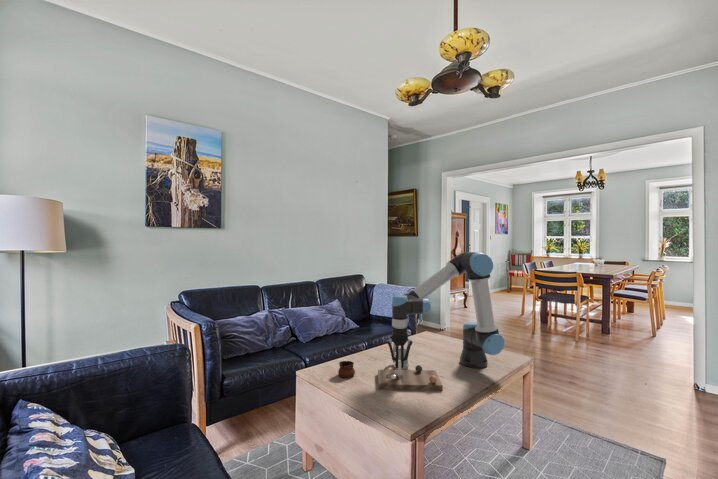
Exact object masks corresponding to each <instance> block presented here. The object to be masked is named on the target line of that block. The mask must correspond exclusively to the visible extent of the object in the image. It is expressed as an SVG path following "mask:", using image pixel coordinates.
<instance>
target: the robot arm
mask: <svg viewBox="0 0 718 479" xmlns="http://www.w3.org/2000/svg"><path fill="white" fill-rule="evenodd" d="M493 270H494V262H493V260H492V258H491V257H490V256H489V255H488V254H486V253H484V252H479V251H476V252H475V251H464V252H461V253H459V254H457V255H456V256H454V257H453V258H452V259H450V260H449V261H447V262H446V265H445V266H444V267H442V268H441V269H440V270H438V271H437V272H436V273H434V274H432V275H431V276H430V277H429V278H428V279H426V280H425V281H423V282H421V284H419V285H417V286H416V287H415V288H413V289H412V290H410V291H409V292H408V293H403V294H396V295H394V296H393V297H392V301H391V310H392V311H391V326H392V327H391V337H390V339H386V344H387V345H388V347H389V351H390V356H391V361H393V360H395V361H396V368H398V369H397V370H398V375H401V368H403V367H404V361H405V360H407V359H408V360H409V353H410V350H411V346H412V344H413V341H412V339H409V337H408V315H424V314H429V313H430V311H431V308H432V306H431V302H430V300H429V298H427V297H429V296H430V295H432V294H433V293H434V292H436V291H438V290H439V289H440V288H441V287H442V286H444V285H445V284H447V283H448V282H450V281H451V280H452V279H454V278H455V277H457V278H458V277H459V276H462V275H463V274H466V277H467V278H466V280H468V281H469V282H470V284H471V291H472V297H473V304H474V311H475V318H476V319H475V320H476V322H475V321H474V322H465V323H463V325H462V350H461V353H460V356H459V363H460V364H461V365H463V366H464V367H467V366H468V368H472V369H473V368H474V369H483V368H486V367H487V366H488V365H489V364H488V363H489V362H488V357H487V356H486V355H489V356H496V355H497V356H498V355H499V354H500V353H502V350H503V349H504V348H505V341H506V340H505V338H504V337H503V336H502V334H500V332H499V327H498V325H497V324H496V323H495V319H494V313H493V312H494V311H493V306H492V305H493V304H492V299H491V293H490V292H491V291H490V285H489V279H490V278H491V273H492V272H493ZM392 344H393V345H394V344H395V345H396V352H395V355H396V357H394V354H393V346H392ZM406 344H407V345H406ZM405 345H406V348H405V347H404V346H405ZM399 347H400V348H401V360H398V349H399ZM404 349H406V353H405V357H404ZM482 367H483V368H482ZM396 368H395V369H396Z"/></svg>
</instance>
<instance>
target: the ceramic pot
mask: <svg viewBox="0 0 718 479" xmlns="http://www.w3.org/2000/svg"><path fill="white" fill-rule="evenodd" d="M338 365H339V369H338V372H337V374H338V376H340V377H339V378H340V379H345V378H349V379H352V378H354V377H355V376H354V375H355V374H356V370H355V368H354V365H355V363H354V361H351V360H342V361H339V363H338Z"/></svg>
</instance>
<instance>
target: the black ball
mask: <svg viewBox="0 0 718 479" xmlns="http://www.w3.org/2000/svg"><path fill="white" fill-rule="evenodd" d="M414 370H416V371H417V372H421V371H422V370H423V367H422V366H421V365H420V364H418V365H416V366H415V368H414Z"/></svg>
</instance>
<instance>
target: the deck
mask: <svg viewBox="0 0 718 479" xmlns="http://www.w3.org/2000/svg"><path fill="white" fill-rule="evenodd" d="M391 375H396V377H397V379H393V378H390V376H391ZM432 375H434V376H436V378H437V381H436V383H431V382H430V380H429V378H430V376H432ZM377 380H378V391H379V390H382V391H385V390H386V391H388V390H389V391H394V390H395V391H440V392H441V391H443V389H444V388H443V387H444V386H443V382H442V381H441V379H440V377H439V375H438V373H437V371H436V370H432V369H431V370H430V369H429V370H423V369H422V371H421V372H417V371H416V369H407V370H401V375H398V369H377Z"/></svg>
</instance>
